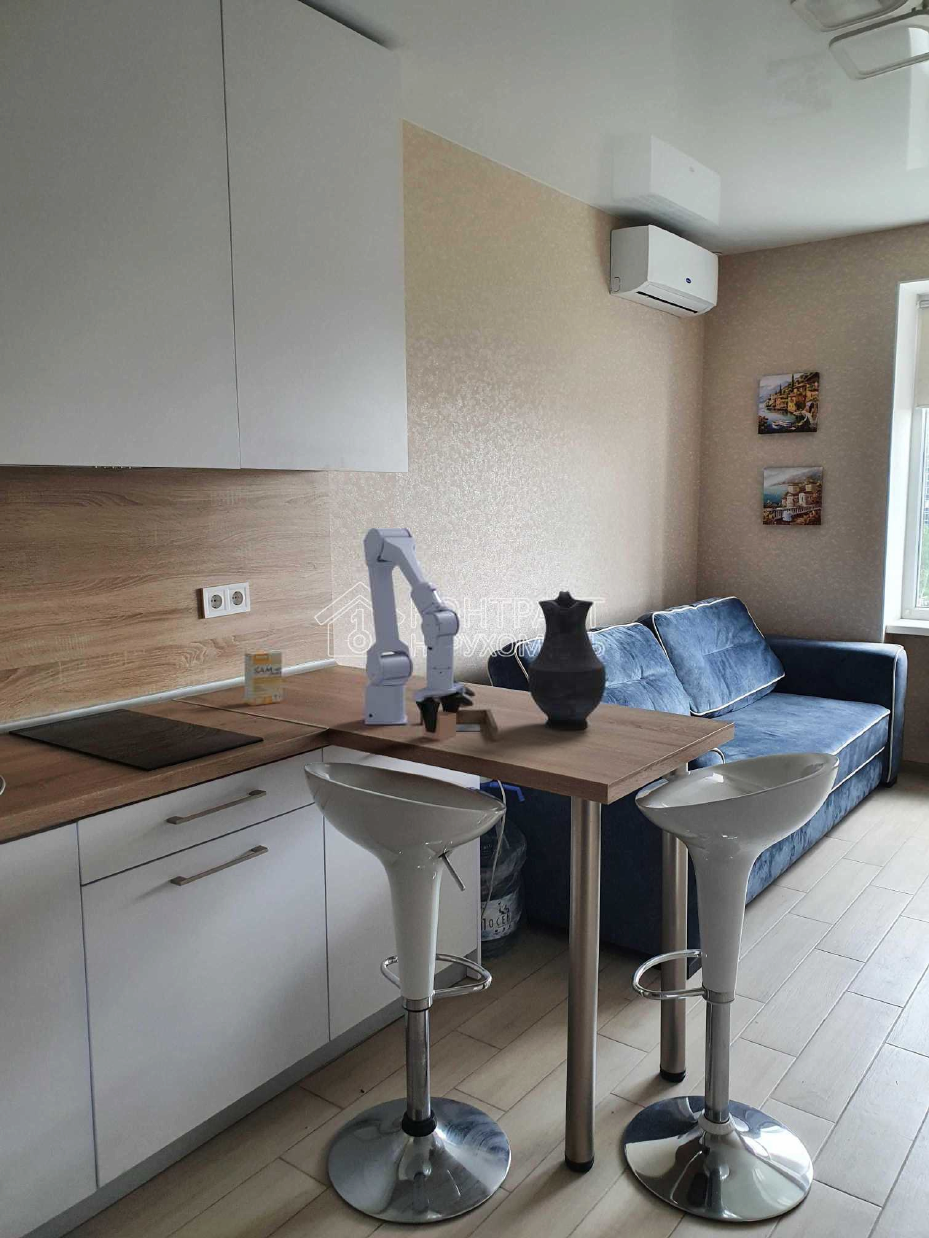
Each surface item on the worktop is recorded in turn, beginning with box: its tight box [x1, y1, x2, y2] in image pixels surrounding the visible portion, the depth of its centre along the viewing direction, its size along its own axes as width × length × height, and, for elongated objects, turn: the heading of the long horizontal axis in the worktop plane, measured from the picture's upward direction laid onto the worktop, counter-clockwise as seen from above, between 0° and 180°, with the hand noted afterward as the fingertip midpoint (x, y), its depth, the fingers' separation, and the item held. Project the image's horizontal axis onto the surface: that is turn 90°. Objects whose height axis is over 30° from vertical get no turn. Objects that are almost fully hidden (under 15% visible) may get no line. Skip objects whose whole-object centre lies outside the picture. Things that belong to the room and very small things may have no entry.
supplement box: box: [244, 649, 283, 707], centre depth 232 cm, size 8×5×13 cm, turn 128°
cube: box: [422, 709, 457, 741], centre depth 198 cm, size 5×5×5 cm
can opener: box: [453, 677, 476, 706], centre depth 239 cm, size 18×7×6 cm, turn 26°
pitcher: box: [527, 590, 607, 731], centre depth 209 cm, size 17×21×30 cm
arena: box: [419, 708, 499, 742], centre depth 203 cm, size 16×18×3 cm
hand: (439, 729), depth 198 cm, fingers closed on cube, 5 cm apart
